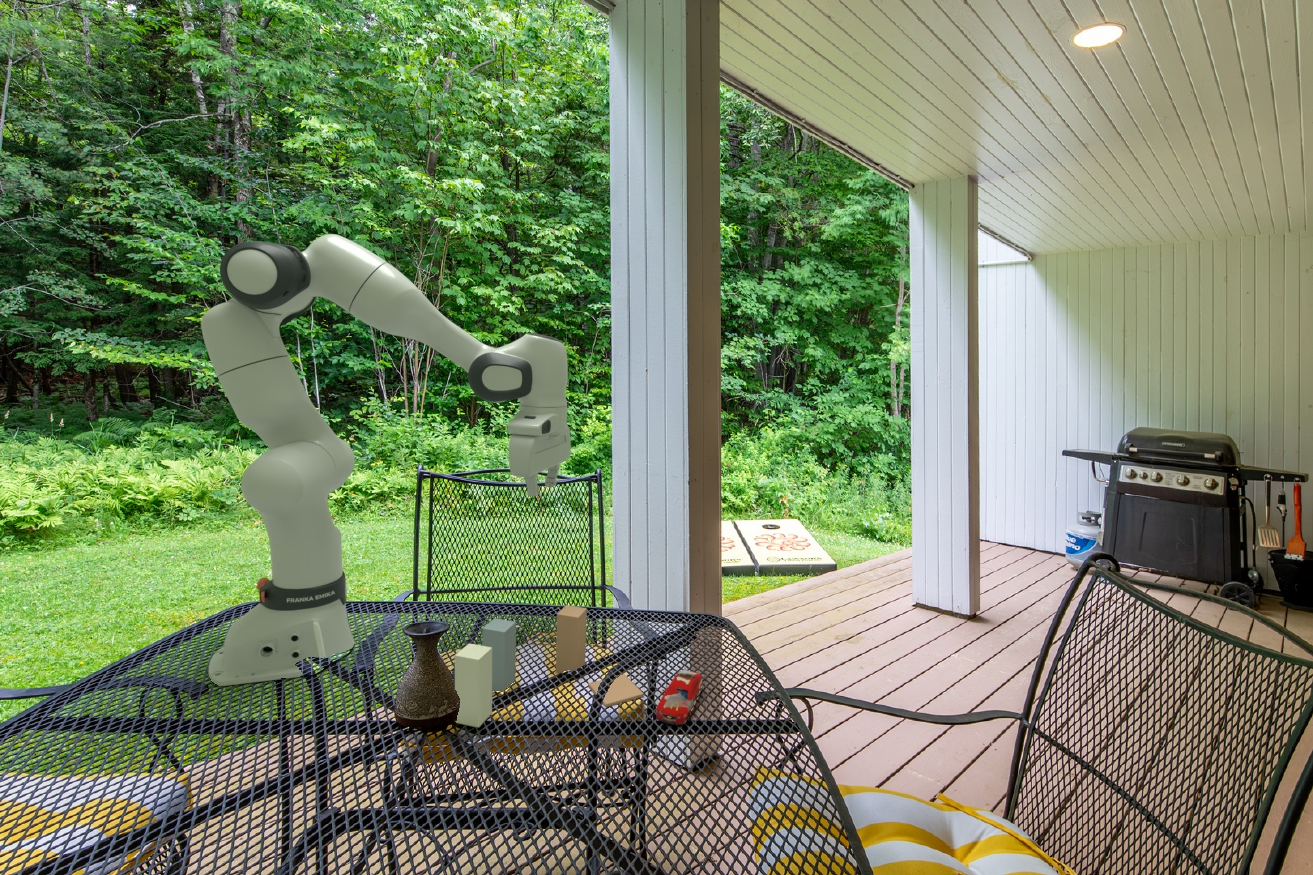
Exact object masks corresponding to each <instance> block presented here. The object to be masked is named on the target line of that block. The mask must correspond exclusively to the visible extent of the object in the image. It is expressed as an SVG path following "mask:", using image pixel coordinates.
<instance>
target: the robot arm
mask: <svg viewBox="0 0 1313 875" xmlns="http://www.w3.org/2000/svg"><path fill="white" fill-rule="evenodd" d="M219 276H220V279H221V282H222V284H223V287H224V288H225V290H226V291H227V293H229V295H230V297H231V298H230V299H229V300H227V301H226V302H222V303H219V304H217V305H214V306H213V307H211V308H210V309H208V310H207V311H206V312H205V314H203V316H202V318H201V321H200V327H201V332H202V337H203V341H204V344H205V349H206V351H207V354H208V357H209V359H210V361H211V365H212V367H213V370H214V372H215V374H216V377H217V379H218V380H219V383H220V385H221V386H222V389H223V391H224V393H225V395H226V398H227V399H228V401H229V403H230V404H229V405H231V407H232V410H233V412H234V414H235V416H236V418H237V419H238V420H239V422H240V423H241V424H242V425H244V426H245V427H247V428H249V429H250V430H252V431H253V432H254V433H255V434H256V435H257V436H258V437H259V439H261V440H262V441H263V442H264V444H265V445H266V446H267V447H268V449H269V450H266V451H264V453H262V454H261V455H259V456H258V457H257V458H256V459H255V460H254V461H253V462H252V463H250V464H249V465H248V466H247V467H246V469H245V470H244V472H243V474H242V477H241V480H240V481H241V483H240V485H241V487H240V488H241V493H242V496H243V497H244V499H245V501H246V502H247V503H248V504H249V505H250V507H252V508H253V509H254V510H256V512H259V515H260V517H261V519H262V522H263V524H264V527H265V529H266V532H267V536H268V541H269V548H270V549H269V550H270V559H271V560H270V561H271V576H272V577H271V578H272V579H269V578H268V577H261V578H259V579H258V580H257V582H256V584H257V585H256V588H257V590H258V592H259V593H258V594H259V595H258V596H259V597H258V598H259V603H258V604H257V605H256V606H254V607H252V609H250V610H249V611H247V612H246V613H244V614H243V615H242V616H241V617H239V618H238V619H237V620H236V621H235V622H233V624H231V626H230V627H229V629H228V631H227V633H226V635H225V639H224V643H223V646H222V647H221V648H220V649H218V650H217V651H216V652H215V653H214V654H213V655H212V657H211V659H210V660H209V664H208V674H209V675H208V674H207V675H208V678H209V677H210V679H211V680H212V681H213V682H214V683H215V684H217V685H218V686H219V687H226V686H233V685H242V684H251V683H259V682H269V681H274V680H275V681H277V680H282V679H281V678H286V679H293V678H300V676H301V670H299V667H297V666H295V664H296V663H297V662H299V661H303V659H305V658H308V657H319V658H324V657H329V656H331V655H333V654H336V653H340V652H344V651H346V650H348V649H349V648H352V647H353V645H354V644H355V645H356V641H355V639H354V637H353V633H352V631H351V628H350V625H349V621H348V616H347V610H346V603H347V597H348V594H347V592H348V590H347V588H348V587H347V577H346V574H345V571H344V570H343V549H342V547H343V546H342V545H343V544H342V533H341V530H340V528H338V527H337V526H336V525H335V523H334V521H333V518H332V515H331V512H330V509H329V504H328V503H329V502H328V501H329V496H330V494H331V493H333V492H335V491H336V490H338V489H340V488H341V487H342V486H344V484H345V483H346V482H347V480H348V479H349V478H350V476H351V474H352V473H353V471H354V468H355V462H356V458H355V453H354V452H353V450H352V448H351V446H350V445H349V444H348V443H347V441H345V440H343V439H342V438H340V437H339V436H337V434H336V433H335V432H334V430H333V429H332V428H331V427H330V425H329V424H328V423H327V421H326V420H325V419H324V417H323V416H322V415H321V414H320V412H319V411H318V409H317V408H316V406H315V405H314V404H313V402H312V400H311V399H310V397H309V395H308V393H307V391H306V389H305V387H304V385H303V383H302V381H301V378H300V376H299V374H298V372H297V370H296V368H295V366H294V364H293V361H292V359H291V356H290V355H289V353H288V351H287V350H288V349H287V348H286V346H285V344H284V342H283V340H282V337H281V333H280V332H281V331H280V327H281V326H282V327H283V326H286V325H287V324H289V323H290V322H292V321H293V320H295V319H296V318H297V317H299V316H300V315H302V314H303V313H306V311H308V310H309V309H310V308H311V307H312V306H313V305H314V304H315V302H316V300H317V298H318V297H319V298H323V299H326V300H328V301H330V302H332V303H334V304H335V305H337V306H338V307H340V308H342V310H344V311H346V312H347V313H349V314H350V315H352V317H355V318H356V319H358V320H359V321H361V322H363V323H364V324H367V325H368V326H371V327H373V328H375V329H377V330H378V331H381V332H383V333H386V334H388V335H392V336H397V337H401V338H406V339H410V340H414V341H417V342H419V343H422V344H424V345H426V346H429V348H430V347H431V349H433V350H435V351H437V352H438V353H440V354H441V355H442V356H444V357H445V358H447V359H448V360H450V361H451V362H453V363H454V364H456V365H457V366H459V367H461V369H463V370H464V371H465V372H466V374H467V380H468V385H469V387H470V389H471V391H472V392H473V393H474V394H475V395H476V396H477V397H478V398H480V399H481V400H483V401H485V402H489V403H504V402H507V401H512V400H517V399H518V400H519V410H518V411H517V413H516V415H514V416H513V418H511V419H510V420H509V422H508V423H507V433H508V434H509V435H511V436H510V438H509V442H508V461H509V462H508V463H509V466H508V467H509V471H510V473H511V476H514V477H518V478H524V479H523V480H524V482H525V485H526V487H527V488H526V489H527V491H526V494H527V496H529V497H537V496H538V495H539V494H540V485H538V480H537V479H538V476H539V473H541V472H544V471H546V470H547V473H546V477H544V479H545V480H544V481H545V483H544V486H545V487H546V488H553V487H556V486H557V478H558V474H559V471H560V466H561V465H560V464H561V463H565V462H566V461H569V459H570V457H571V452H572V450H571V449H572V448H571V447H572V446H571V445H572V444H571V430H570V427H569V426H568V424H567V423H568V422H567V421H568V419H567V418H568V402H567V397H566V391H567V386H568V383H569V382H568V380H569V379H568V375H569V374H568V373H569V371H568V370H569V368H568V366H569V365H568V354H567V349H566V346H565V344H564V343H563V342H562V340H560V339H558V338H556V337H553V336H551V335H549V336H548V335H545V334H540V333H536V332H527V333H525V334H524V335H523V336H521V337H520V338H518V339H515V340H514V341H512V342H510V343H507V344H505V345H502V346H500V347H499V346H492V345H490V344H489V345H488V344H486V343H484V342H482V341H480V340H479V339H477V338H476V337H474V336H473V335H471V334H470V333H469V332H467V331H466V330H464V329H463V328H461V327H460V326H458V325H457V324H455V323H454V322H453V321H451V319H449V318H447V317H446V316H444V315H443V314H442V312H441V311H439V310H438V309H437V307H436V306H434V304H433V303H432V302H431V301H430V300H429V299H428V298H427V297H426V295H425V294H424V293H423V292H422V291H421V290H420V289H419V288H418V287H417V286H416V285H415V284H414V283H413V282H412V281H411V280H410V278H408V277H407V276H405V275H404V274H403V273H402V272H401V271H400V270H398V269H397V268H396V267H394V266H393V265H392V264H391V263H389V262H387V261H386V260H384V258H381V257H380V256H378V255H377V254H375V253H374V252H372V251H371V250H369V249H367V248H366V247H364V246H362V245H360V244H358V243H356V242H355V241H352V240H351V239H349V238H346V237H345V236H343V235H342V236H341V235H339V234H336V233H335V234H333V233H328V234H324V235H322V236H320V237H318V238H316V239H314V240H313V241H312V242H311V243H309V246H308V247H306V249H305V250H303V251H301V250H300V249H299V248H298V247H296V246H294V245H289V244H281V243H275V242H269V241H261V240H260V241H259V240H251V241H250V240H248V241H244V242H240V243H237V244H235V245H233V246H232V247H230V248H229V249H228V250H227V251H226V252H225V253H224V254H223V257H221V261H220V265H219ZM210 679H209V680H210ZM215 684H214V685H215ZM217 685H216V686H217ZM218 686H217V687H218Z"/></svg>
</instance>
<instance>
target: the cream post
mask: <svg viewBox="0 0 1313 875" xmlns="http://www.w3.org/2000/svg"><path fill="white" fill-rule="evenodd" d="M455 690H456V691H457V694H458V696H459V698H460V708H459V712H458V715H457V721H456V723H455V724H460V725H464V726H469V727H475V728H478V729H479V728H480V727H481V726H482V725H483V724H484V723H485V722H486V720H487V719H488V718H489V717H490V716H491V714H492V713H493V692H492V647H486V646H482V644H474V643H467V645H465V646H464V647H462V649H460V651H458V652H457V653H455V655H454V691H455Z"/></svg>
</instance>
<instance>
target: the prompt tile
mask: <svg viewBox="0 0 1313 875" xmlns="http://www.w3.org/2000/svg"><path fill="white" fill-rule="evenodd" d="M619 675H620V676H619ZM619 675H618V676H619V677H618V678H616V679H615V680H614V682H613V683H612V684H611V685H610V688H609V690H608V692H607V693H606V696H605V698H604V700H603V703H602V705H603V706H604V707H605V708H608V707H611V706H615V705H619V704H623V703H625V702H626V703H627V702H629V701H633V700H637V699H640V698H644V695H645V694H644V692H643V691H641V690H640V688H639V687H638V686H637V685H636V684H635V683H634V682H633V681H632V680H631V679H630V678H629V677H628V676H627V675H626V673H625V674H624V673H623V674H619ZM602 680H603V679H600V680H596V681H593V682H588V683H587V687H588V688H589V689H590V690H591V691H592V693H593V694H594V696H596V695H597V691H598V687H599V685H600V683H601V681H602Z"/></svg>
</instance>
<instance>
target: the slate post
mask: <svg viewBox="0 0 1313 875" xmlns="http://www.w3.org/2000/svg"><path fill="white" fill-rule="evenodd" d="M481 632H482V635H481V637H482V638H481V640H482V642H481V643H482V644H481V646H486V647H492V691H504V690H506V688H507V687H509V686H510V685H511V684H512V683H514V682H515V683H516V663H517V662H516V658H517V657H516V655H517V653H516V648H517V646H516V644H517V640H516V639H517V621H513V620H505V619H501V618H495V617H494V618H493V619H492V620H491V621H490V622H488V623H487V624H486V625H485V626H483V627H482V631H481ZM515 683H514V684H515Z"/></svg>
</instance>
